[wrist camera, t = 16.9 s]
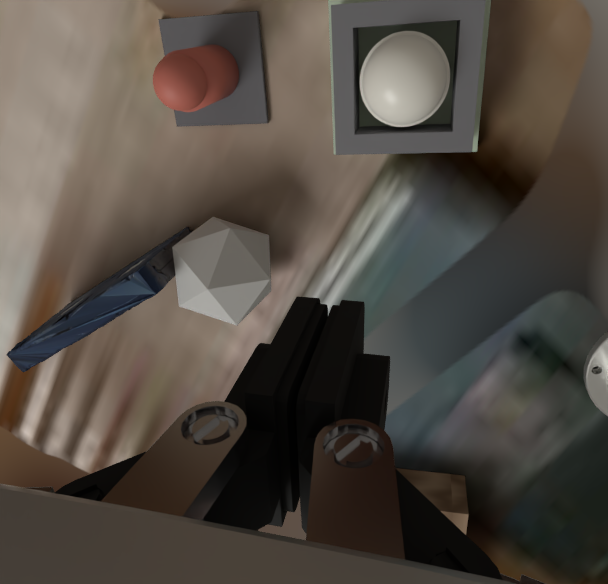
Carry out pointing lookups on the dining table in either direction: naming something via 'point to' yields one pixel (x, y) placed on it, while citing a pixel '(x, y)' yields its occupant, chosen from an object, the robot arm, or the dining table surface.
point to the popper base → (461, 57)
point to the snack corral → (443, 493)
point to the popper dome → (404, 78)
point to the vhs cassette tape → (100, 305)
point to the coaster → (247, 52)
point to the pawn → (195, 77)
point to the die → (222, 270)
